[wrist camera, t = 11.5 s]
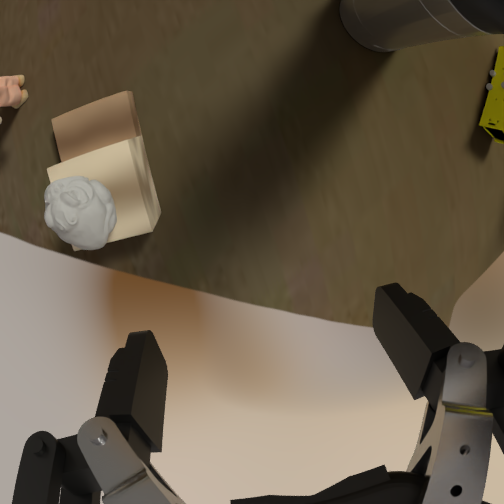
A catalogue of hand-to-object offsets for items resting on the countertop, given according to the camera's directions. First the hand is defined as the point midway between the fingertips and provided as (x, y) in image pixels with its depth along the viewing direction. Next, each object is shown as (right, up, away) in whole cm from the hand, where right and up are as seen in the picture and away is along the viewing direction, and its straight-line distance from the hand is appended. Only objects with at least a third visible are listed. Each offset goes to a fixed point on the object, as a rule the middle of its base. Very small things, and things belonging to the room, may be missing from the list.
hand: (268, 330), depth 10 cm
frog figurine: (-15, +8, +16) cm, 23 cm away
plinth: (-16, +12, +20) cm, 29 cm away
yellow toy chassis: (+37, +28, +21) cm, 51 cm away
